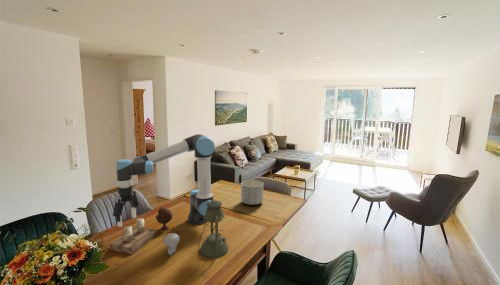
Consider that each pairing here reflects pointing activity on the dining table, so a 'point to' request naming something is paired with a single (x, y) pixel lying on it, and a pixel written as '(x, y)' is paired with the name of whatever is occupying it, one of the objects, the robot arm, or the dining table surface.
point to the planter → (252, 192)
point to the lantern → (214, 242)
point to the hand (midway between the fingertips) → (127, 221)
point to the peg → (128, 234)
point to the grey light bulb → (171, 242)
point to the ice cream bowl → (164, 217)
